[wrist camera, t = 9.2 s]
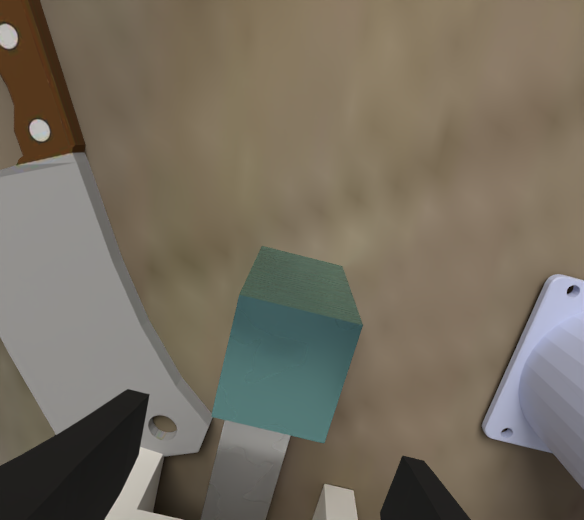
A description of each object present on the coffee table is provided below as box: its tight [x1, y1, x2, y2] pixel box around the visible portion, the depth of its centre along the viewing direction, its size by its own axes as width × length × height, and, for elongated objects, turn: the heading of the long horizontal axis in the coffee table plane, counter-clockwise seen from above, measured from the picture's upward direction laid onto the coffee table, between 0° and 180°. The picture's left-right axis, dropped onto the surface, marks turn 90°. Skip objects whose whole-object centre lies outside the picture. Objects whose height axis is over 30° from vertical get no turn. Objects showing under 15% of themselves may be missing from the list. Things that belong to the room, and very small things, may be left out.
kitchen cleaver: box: [0, 0, 213, 457], centre depth 17 cm, size 24×1×10 cm
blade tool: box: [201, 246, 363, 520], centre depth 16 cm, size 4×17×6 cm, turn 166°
